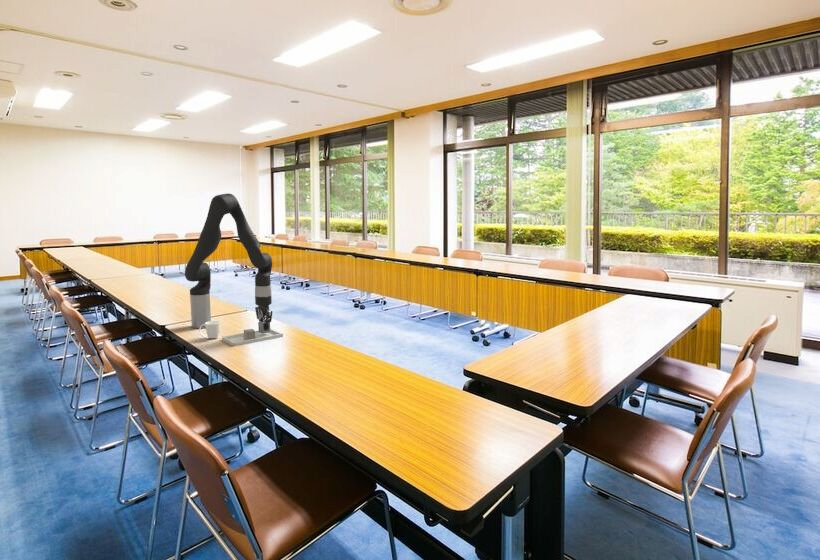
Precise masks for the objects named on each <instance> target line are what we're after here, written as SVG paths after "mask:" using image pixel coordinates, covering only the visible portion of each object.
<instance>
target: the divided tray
mask: <svg viewBox="0 0 820 560" xmlns="http://www.w3.org/2000/svg"><path fill="white" fill-rule="evenodd" d="M283 337H284V334H283V333H282V332H279V331H277V330H275V329H272V328H270V332H269V333H264V334H262V333H259V329H258V330H255V339H250V340H245V341H244V332H242V333H236V334H235V333H234V334H231V335H225V336H221V340H222V341H223V342H224V343H227V344H228V345H231V346H232V347H236V346H243V345H247V344H252V343H259V342H262V341H267V340H268V341H269V340H274V339H278V338H283Z"/></svg>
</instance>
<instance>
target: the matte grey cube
mask: <svg viewBox="0 0 820 560" xmlns="http://www.w3.org/2000/svg"><path fill="white" fill-rule="evenodd" d="M257 323H258V324H257V325H258V330H259V333H262V334H264V333H269V332H270V329H271V322H269V330H267V331H265V330H264V320H263V321H262V322H259V321H258V322H257Z"/></svg>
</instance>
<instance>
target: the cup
mask: <svg viewBox="0 0 820 560" xmlns="http://www.w3.org/2000/svg"><path fill="white" fill-rule="evenodd" d="M203 325H204V326H205V327H206V328H205V331H206V335H207V336H205V335H204V334H203V333H202V328H201V327H202V325H201V326H200V328H198V330H199V331H198V332H199V334H200V335H201V337H203V338H204V339H217V338H219V334H220V328H221V327H220V326H221V321H218V320H211V321H209V322H205V324H203Z"/></svg>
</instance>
